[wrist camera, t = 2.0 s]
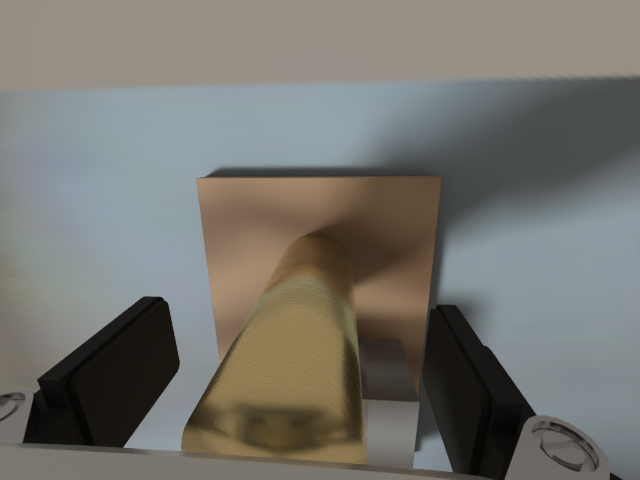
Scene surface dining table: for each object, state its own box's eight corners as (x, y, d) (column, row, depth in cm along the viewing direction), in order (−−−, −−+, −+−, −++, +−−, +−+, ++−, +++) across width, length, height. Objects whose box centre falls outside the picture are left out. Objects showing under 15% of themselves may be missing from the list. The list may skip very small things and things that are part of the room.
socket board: (407, 454, 24) (428, 555, 18) (237, 443, 25) (204, 535, 19) (435, 175, 17) (482, 189, 12) (205, 176, 18) (140, 189, 13)
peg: (367, 268, 18) (407, 471, 7) (317, 312, 19) (279, 549, 8) (315, 219, 17) (264, 349, 6) (267, 266, 19) (146, 454, 7)
